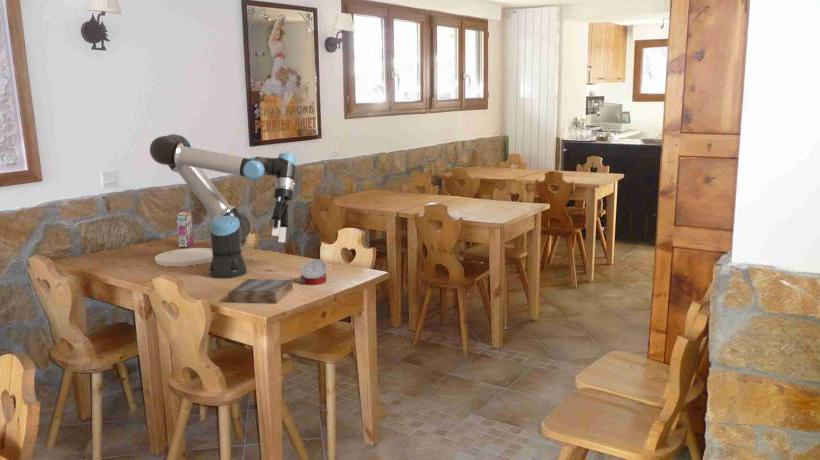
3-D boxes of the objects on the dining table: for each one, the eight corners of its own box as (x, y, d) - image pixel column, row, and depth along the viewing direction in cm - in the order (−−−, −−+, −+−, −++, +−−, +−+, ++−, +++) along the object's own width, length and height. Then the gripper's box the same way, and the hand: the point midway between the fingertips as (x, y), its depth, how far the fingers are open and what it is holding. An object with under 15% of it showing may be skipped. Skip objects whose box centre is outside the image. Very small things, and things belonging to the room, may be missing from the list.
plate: (183, 270, 295) (183, 264, 295) (141, 263, 310) (141, 258, 310) (232, 256, 319) (231, 251, 318) (190, 250, 333) (190, 245, 333)
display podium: (228, 302, 246) (227, 291, 245) (247, 288, 263) (247, 278, 263) (276, 303, 243) (275, 292, 242) (292, 289, 260) (292, 279, 260)
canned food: (327, 292, 272) (335, 272, 268) (306, 295, 265) (314, 274, 261) (313, 275, 279) (321, 255, 274) (292, 277, 272) (300, 257, 268)
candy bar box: (188, 247, 338) (186, 215, 335) (178, 248, 338) (175, 215, 335) (193, 243, 349) (191, 211, 346) (183, 243, 349) (181, 211, 346)
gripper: (287, 182, 276) (281, 233, 271) (297, 197, 300) (292, 245, 296) (269, 180, 276) (262, 232, 272) (280, 196, 300) (275, 244, 296)
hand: (278, 239), depth 284 cm, fingers open, 13 cm apart
